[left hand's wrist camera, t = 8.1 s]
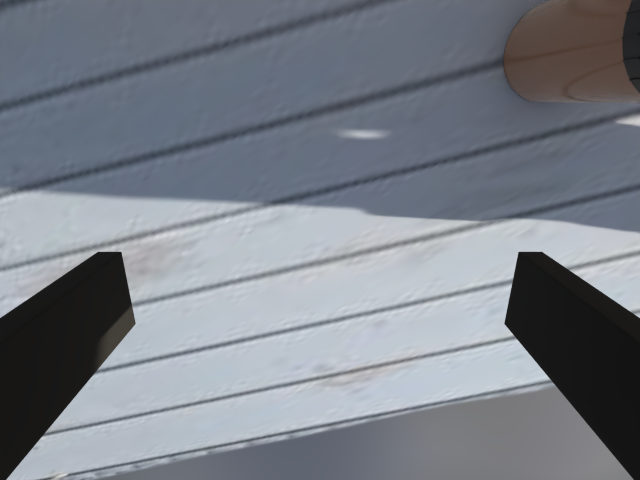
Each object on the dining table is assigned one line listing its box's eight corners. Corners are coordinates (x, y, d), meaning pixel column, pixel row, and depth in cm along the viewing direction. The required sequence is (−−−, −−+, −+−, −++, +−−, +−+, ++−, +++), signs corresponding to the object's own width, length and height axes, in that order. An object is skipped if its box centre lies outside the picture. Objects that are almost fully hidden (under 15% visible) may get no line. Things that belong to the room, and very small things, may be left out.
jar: (485, 51, 35) (618, 10, 19) (566, -25, 33) (789, -138, 17) (535, 121, 37) (691, 136, 22) (615, 55, 35) (851, 17, 20)
